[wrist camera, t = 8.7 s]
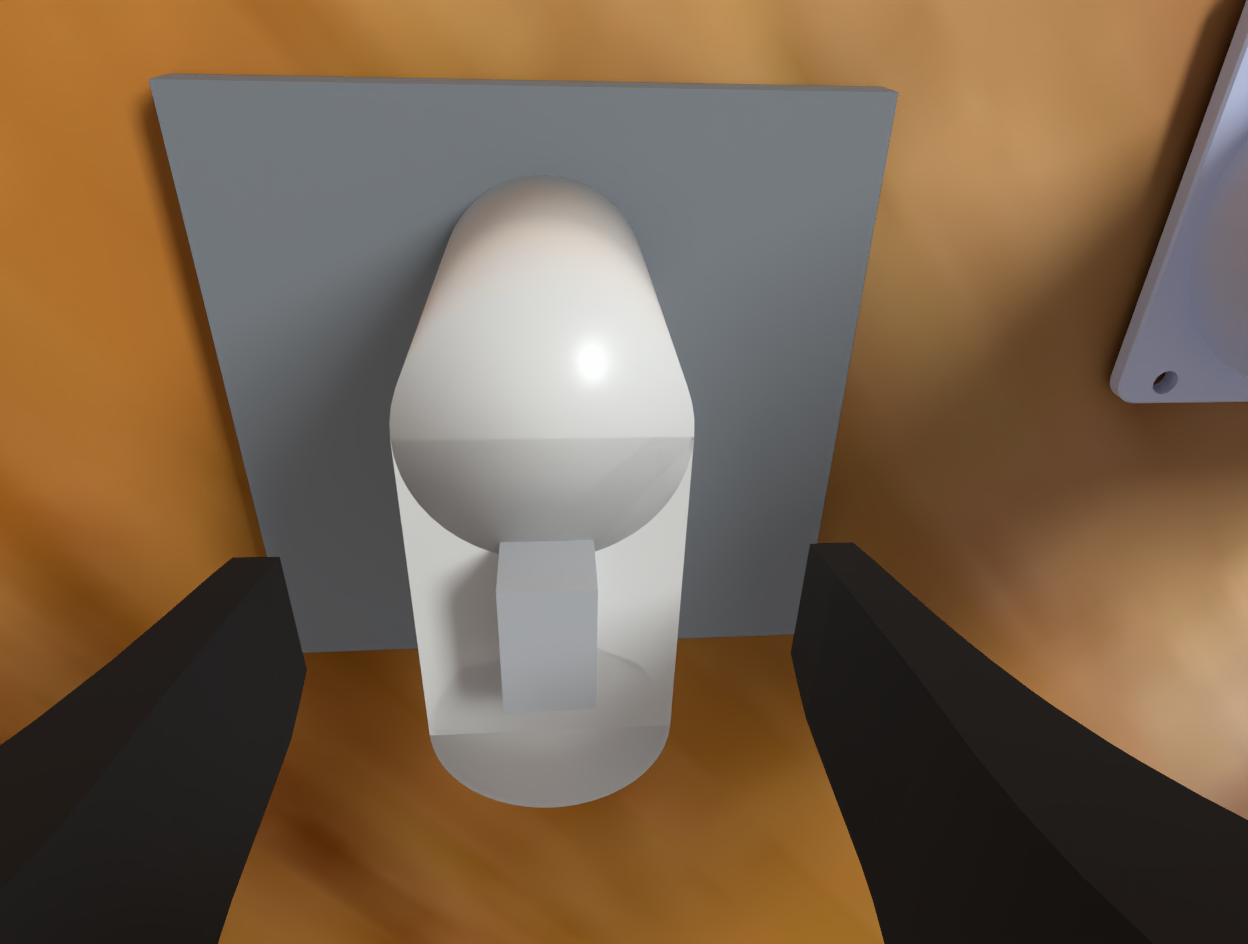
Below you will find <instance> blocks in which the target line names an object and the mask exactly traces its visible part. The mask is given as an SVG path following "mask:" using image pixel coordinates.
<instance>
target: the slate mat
mask: <svg viewBox="0 0 1248 944" xmlns="http://www.w3.org/2000/svg"><path fill="white" fill-rule="evenodd" d="M149 83H150V87H151V91H152V95H153V99H154V103H155V107H156V111H157V115H158V119H159V123H160V127H161V131H162V135H163V140H164V144H165V148H166V152H167V156H168V160H169V164H170V168H171V172H172V176H173V180H174V184H175V188H176V192H177V196H178V200H179V204H180V208H181V212H182V216H183V220H184V224H185V228H186V232H187V236H188V240H189V244H190V248H191V252H192V256H193V260H194V265H195V269H196V273H197V277H198V281H199V285H200V289H201V293H202V297H203V301H204V305H205V309H206V313H207V317H208V321H209V325H210V329H211V333H212V337H213V341H214V345H215V349H216V353H217V357H218V361H219V365H220V369H221V373H222V377H223V381H224V386H225V390H226V394H227V398H228V402H229V406H230V410H231V414H232V418H233V422H234V426H235V430H236V434H237V438H238V442H239V446H240V450H241V454H242V458H243V462H244V466H245V470H246V474H247V478H248V482H249V486H250V490H251V494H252V498H253V502H254V507H255V511H256V515H257V519H258V523H259V527H260V531H261V535H262V539H263V543H264V547H265V551H266V555H267V557H280V560H281V564H282V568H283V573H284V577H285V581H286V585H287V589H288V594H289V598H290V602H291V606H292V610H293V615H294V619H295V623H296V627H297V631H298V635H299V640H300V644H301V648H302V652H303V653H311V652H338V651H365V650H391V649H418V644H417V636H416V629H415V621H414V614H413V606H412V599H411V591H410V584H409V576H408V569H407V561H406V554H405V547H404V539H403V532H402V524H401V517H400V509H399V502H398V494H397V487H396V479H395V472H394V464H393V457H392V449H391V442H390V426H389V421H390V411H391V403H392V399H393V395H394V391H395V387H396V385H397V382H398V379H399V376H400V374H401V371H402V368H403V365H404V362H405V360H406V357H407V354H408V351H409V349H410V346H411V343H412V340H413V338H414V335H415V332H416V329H417V326H418V324H419V321H420V318H421V315H422V313H423V310H424V307H425V304H426V302H427V299H428V296H429V293H430V291H431V288H432V285H433V282H434V279H435V277H436V274H437V271H438V268H439V266H440V263H441V260H442V257H443V255H444V252H445V249H446V246H447V243H448V241H449V238H450V236H451V233H452V231H453V229H454V227H455V225H456V223H457V222H458V220H459V218H460V217H461V215H462V214H463V213H464V212H465V210H466V209H467V208H468V207H469V206H470V205H471V204H472V203H473V202H474V201H475V200H476V199H477V198H478V197H480V196H481V195H482V194H484V193H485V192H487V191H488V190H490V189H491V188H493V187H495V186H497V185H499V184H501V183H504V182H507V181H509V180H512V179H515V178H520V177H526V176H535V175H548V176H558V177H563V178H567V179H571V180H574V181H577V182H579V183H582V184H584V185H586V186H588V187H590V188H592V189H594V190H596V191H597V192H599V193H600V194H601V195H603V196H604V197H606V198H607V199H608V200H609V201H610V202H611V203H612V204H614V205H615V206H616V207H617V208H618V210H619V211H620V212H621V213H622V214H623V216H624V217H625V218H626V220H627V221H628V223H629V225H630V226H631V228H632V229H633V232H634V234H635V236H636V238H637V240H638V243H639V246H640V249H641V252H642V255H643V258H644V261H645V264H646V267H647V269H648V272H649V275H650V278H651V281H652V284H653V287H654V290H655V293H656V296H657V299H658V302H659V305H660V307H661V310H662V313H663V316H664V319H665V322H666V325H667V328H668V331H669V334H670V337H671V340H672V343H673V345H674V348H675V351H676V354H677V357H678V360H679V363H680V366H681V369H682V372H683V375H684V378H685V381H686V383H687V387H688V390H689V393H690V397H691V400H692V405H693V413H694V446H693V458H692V470H691V482H690V494H689V506H688V518H687V530H686V542H685V554H684V566H683V577H682V589H681V601H680V613H679V625H678V637H677V639H684V638H710V637H737V636H764V635H790V634H794V632H795V627H796V621H797V615H798V609H799V604H800V598H801V592H802V587H803V581H804V575H805V570H806V564H807V558H808V552H809V547H810V544H817V541H818V536H819V530H820V525H821V519H822V514H823V508H824V502H825V497H826V491H827V486H828V480H829V475H830V469H831V464H832V458H833V453H834V447H835V441H836V436H837V430H838V425H839V419H840V414H841V408H842V403H843V397H844V391H845V386H846V380H847V375H848V369H849V364H850V358H851V353H852V347H853V342H854V336H855V330H856V325H857V319H858V314H859V308H860V303H861V297H862V292H863V286H864V280H865V275H866V269H867V264H868V258H869V253H870V247H871V242H872V236H873V230H874V225H875V219H876V214H877V208H878V203H879V197H880V192H881V186H882V181H883V175H884V169H885V164H886V158H887V153H888V147H889V142H890V136H891V131H892V125H893V119H894V114H895V108H896V103H897V97H898V92H896V91H893V90H890V89H887V88H884V87H867V86H812V85H758V84H703V83H649V82H594V81H540V80H485V79H431V78H376V77H322V76H267V75H213V74H166V75H162V76H158V77H155V78H151V79H149Z"/></svg>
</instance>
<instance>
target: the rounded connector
mask: <svg viewBox="0 0 1248 944" xmlns="http://www.w3.org/2000/svg"><path fill="white" fill-rule="evenodd" d="M389 426H390V442H391V449H392V457H393V464H394V472H395V479H396V487H397V494H398V502H399V509H400V517H401V524H402V532H403V539H404V547H405V554H406V561H407V569H408V576H409V584H410V591H411V599H412V606H413V614H414V621H415V629H416V636H417V644H418V651H419V659H420V666H421V674H422V681H423V689H424V696H425V704H426V711H427V718H428V726H429V733H430V739H431V743H432V747H433V749H434V751H435V754H436V756H437V758H438V759H439V761H440V762H441V764H442V765H443V767H444V768H445V769H446V770H447V771H448V772H449V773H450V774H451V775H452V776H453V777H454V778H455V779H456V780H458V781H459V782H460V783H461V784H463V785H464V786H466V787H468V788H469V789H471V790H472V791H474V792H477V793H479V794H481V795H483V796H485V797H488V798H491V799H493V800H496V801H500V802H504V803H507V804H512V805H518V806H524V807H537V808H552V807H564V806H571V805H577V804H582V803H586V802H590V801H593V800H597V799H600V798H602V797H605V796H608V795H610V794H612V793H614V792H616V791H618V790H620V789H622V788H624V787H626V786H627V785H629V784H630V783H632V782H634V781H635V780H636V779H637V778H639V777H640V776H641V775H643V774H644V773H645V772H646V771H647V770H648V769H649V768H650V767H651V766H652V764H653V763H654V762H655V761H656V759H657V758H658V757H659V755H660V753H661V752H662V750H663V748H664V746H665V743H666V741H667V738H668V735H669V729H670V721H671V709H672V697H673V685H674V673H675V661H676V649H677V637H678V625H679V613H680V601H681V589H682V577H683V566H684V554H685V542H686V530H687V518H688V506H689V494H690V482H691V470H692V458H693V446H694V413H693V405H692V400H691V397H690V393H689V390H688V387H687V383H686V381H685V378H684V375H683V372H682V369H681V366H680V363H679V360H678V357H677V354H676V351H675V348H674V345H673V343H672V340H671V337H670V334H669V331H668V328H667V325H666V322H665V319H664V316H663V313H662V310H661V307H660V305H659V302H658V299H657V296H656V293H655V290H654V287H653V284H652V281H651V278H650V275H649V272H648V269H647V267H646V264H645V261H644V258H643V255H642V252H641V249H640V246H639V243H638V240H637V238H636V236H635V234H634V232H633V229H632V228H631V226H630V225H629V223H628V221H627V220H626V218H625V217H624V216H623V214H622V213H621V212H620V211H619V210H618V208H617V207H616V206H615V205H614V204H612V203H611V202H610V201H609V200H608V199H607V198H606V197H604V196H603V195H601V194H600V193H599V192H597V191H596V190H594V189H592V188H590V187H588V186H586V185H584V184H582V183H579V182H577V181H574V180H571V179H567V178H563V177H558V176H548V175H535V176H526V177H520V178H515V179H512V180H509V181H507V182H504V183H501V184H499V185H497V186H495V187H493V188H491V189H490V190H488V191H487V192H485V193H484V194H482V195H481V196H480V197H478V198H477V199H476V200H475V201H474V202H473V203H472V204H471V205H470V206H469V207H468V208H467V209H466V210H465V212H464V213H463V214H462V215H461V217H460V218H459V220H458V222H457V223H456V225H455V227H454V229H453V231H452V233H451V236H450V238H449V241H448V243H447V246H446V249H445V252H444V255H443V257H442V260H441V263H440V266H439V268H438V271H437V274H436V277H435V279H434V282H433V285H432V288H431V291H430V293H429V296H428V299H427V302H426V304H425V307H424V310H423V313H422V315H421V318H420V321H419V324H418V326H417V329H416V332H415V335H414V338H413V340H412V343H411V346H410V349H409V351H408V354H407V357H406V360H405V362H404V365H403V368H402V371H401V374H400V376H399V379H398V382H397V385H396V387H395V391H394V395H393V399H392V403H391V411H390V421H389Z"/></svg>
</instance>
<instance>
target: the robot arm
mask: <svg viewBox="0 0 1248 944" xmlns="http://www.w3.org/2000/svg"><path fill="white" fill-rule="evenodd" d="M1164 372H1166V374H1165V376H1164V378H1163V379H1162V380H1161V381H1160V382H1159V383H1157V384H1156V385H1153V383H1154V381H1155V380H1156V378H1157V377H1158V376H1159V375H1161V374H1162V373H1164ZM1110 387H1111V390H1112V392H1113V393H1115V394H1116V395H1117V396H1118V397H1120V398H1121V399H1123V400H1124V401H1125V402H1129V403H1185V402H1248V0H1246V3H1245V6H1244V8H1243V11H1242V14H1241V17H1240V19H1239V22H1238V25H1237V28H1236V31H1235V33H1234V36H1233V39H1232V42H1231V44H1230V47H1229V50H1228V53H1227V55H1226V58H1225V61H1224V64H1223V67H1222V69H1221V72H1220V75H1219V78H1218V80H1217V83H1216V86H1215V89H1214V92H1213V94H1212V97H1211V100H1210V103H1209V105H1208V108H1207V111H1206V114H1205V116H1204V119H1203V122H1202V125H1201V128H1200V130H1199V133H1198V136H1197V139H1196V141H1195V144H1194V147H1193V150H1192V153H1191V155H1190V158H1189V161H1188V164H1187V166H1186V169H1185V172H1184V175H1183V177H1182V180H1181V183H1180V186H1179V189H1178V191H1177V194H1176V197H1175V200H1174V202H1173V205H1172V208H1171V211H1170V214H1169V216H1168V219H1167V222H1166V225H1165V227H1164V230H1163V233H1162V236H1161V238H1160V241H1159V244H1158V247H1157V250H1156V252H1155V255H1154V258H1153V261H1152V263H1151V266H1150V269H1149V272H1148V275H1147V277H1146V280H1145V283H1144V286H1143V288H1142V291H1141V294H1140V297H1139V299H1138V302H1137V305H1136V308H1135V311H1134V313H1133V316H1132V319H1131V322H1130V324H1129V327H1128V330H1127V333H1126V336H1125V338H1124V341H1123V344H1122V347H1121V349H1120V352H1119V355H1118V358H1117V360H1116V363H1115V366H1114V369H1113V372H1112V374H1111V378H1110ZM791 656H792V660H793V665H794V669H795V674H796V678H797V683H798V687H799V691H800V695H801V699H802V703H803V707H804V712H805V716H806V719H807V722H808V725H809V727H810V730H811V733H812V736H813V738H814V741H815V744H816V747H817V749H818V752H819V755H820V757H821V760H822V763H823V765H824V768H825V771H826V773H827V776H828V779H829V781H830V784H831V787H832V789H833V792H834V795H835V797H836V800H837V802H838V805H839V808H840V810H841V813H842V816H843V818H844V821H845V824H846V826H847V829H848V831H849V834H850V837H851V839H852V842H853V845H854V847H855V850H856V853H857V855H858V858H859V861H860V863H861V866H862V869H863V872H864V875H865V878H866V881H867V884H868V887H869V890H870V893H871V896H872V899H873V903H874V906H875V910H876V914H877V917H878V921H879V925H880V928H881V932H882V936H883V939H884V943H885V944H1248V820H1246V819H1244V818H1243V817H1241V816H1239V815H1237V814H1235V813H1233V812H1231V811H1229V810H1227V809H1225V808H1223V807H1222V806H1220V805H1218V804H1216V803H1214V802H1212V801H1210V800H1208V799H1206V798H1204V797H1202V796H1201V795H1199V794H1197V793H1195V792H1193V791H1192V790H1190V789H1188V788H1186V787H1184V786H1183V785H1181V784H1179V783H1177V782H1176V781H1174V780H1172V779H1170V778H1169V777H1167V776H1165V775H1163V774H1162V773H1160V772H1158V771H1156V770H1155V769H1153V768H1151V767H1149V766H1147V765H1146V764H1144V763H1142V762H1140V761H1139V760H1137V759H1135V758H1134V757H1132V756H1130V755H1129V754H1127V753H1125V752H1124V751H1122V750H1120V749H1119V748H1117V747H1116V746H1114V745H1112V744H1111V743H1109V742H1107V741H1106V740H1104V739H1103V738H1101V737H1100V736H1098V735H1097V734H1095V733H1094V732H1092V731H1090V730H1089V729H1087V728H1086V727H1084V726H1083V725H1081V724H1080V723H1078V722H1077V721H1075V720H1074V719H1072V718H1071V717H1069V716H1068V715H1066V714H1065V713H1063V712H1062V711H1060V710H1058V709H1057V708H1055V707H1054V706H1053V705H1051V704H1050V703H1048V702H1047V701H1045V700H1044V699H1043V698H1041V697H1040V696H1038V695H1037V694H1035V693H1034V692H1033V691H1031V690H1030V689H1029V688H1027V687H1026V686H1025V685H1023V684H1022V683H1021V682H1019V681H1018V680H1017V679H1015V678H1014V677H1013V676H1011V675H1010V674H1009V673H1007V672H1006V671H1005V670H1003V669H1002V668H1001V667H999V666H998V665H997V664H995V663H994V662H993V661H991V660H990V659H989V658H988V657H986V656H985V655H984V654H983V653H981V652H980V651H979V650H978V649H976V648H975V647H974V646H973V645H971V644H970V643H969V642H968V641H966V640H965V639H964V638H963V637H961V636H960V635H959V634H958V633H957V632H955V631H954V630H953V629H952V628H951V627H949V626H948V625H947V624H946V623H945V622H943V621H942V620H941V619H940V618H939V617H938V616H936V615H935V614H934V613H933V612H932V611H931V610H929V609H928V608H927V607H926V606H925V605H924V604H923V603H921V602H920V601H919V600H918V599H917V598H916V597H915V596H913V595H912V594H911V593H910V592H909V591H908V590H907V589H905V588H904V587H903V586H902V585H901V584H900V583H899V582H898V581H896V580H895V579H894V578H893V577H892V576H891V575H890V574H889V573H887V572H886V571H885V570H884V569H883V568H882V567H881V566H880V565H878V564H877V563H876V562H875V561H874V560H873V559H872V558H870V557H869V556H868V555H867V554H866V553H865V552H863V551H862V550H861V549H860V548H859V547H857V546H856V545H855V544H854V543H818V544H810V547H809V552H808V558H807V564H806V570H805V575H804V581H803V587H802V592H801V598H800V604H799V609H798V615H797V621H796V627H795V632H794V638H793V644H792V649H791ZM306 670H307V669H306V665H305V661H304V656H303V652H302V648H301V644H300V640H299V635H298V631H297V627H296V623H295V619H294V615H293V610H292V606H291V602H290V598H289V594H288V589H287V585H286V581H285V577H284V573H283V568H282V564H281V560H280V557H245V558H232V559H231V560H229V561H228V562H227V563H225V564H224V565H223V566H222V567H220V568H219V569H218V570H217V571H216V572H215V573H213V574H212V575H211V576H210V577H209V578H207V579H206V580H205V581H204V582H203V583H202V584H201V585H199V586H198V587H197V588H196V589H195V590H194V591H192V592H191V593H190V594H189V595H188V596H187V597H186V598H184V599H183V600H182V601H181V602H180V603H179V604H178V605H176V606H175V607H174V608H173V609H172V610H171V611H170V612H168V613H167V614H166V615H165V616H164V617H163V618H161V619H160V620H159V621H158V622H157V623H156V624H154V625H153V626H152V627H151V628H150V629H148V630H147V631H146V632H145V633H144V634H143V635H141V636H140V637H139V638H138V639H137V640H135V641H134V642H133V643H132V644H131V645H130V646H128V647H127V648H126V649H125V650H124V651H122V652H121V653H120V654H119V655H118V656H117V657H115V658H114V659H113V660H112V661H111V662H109V663H108V664H107V665H106V666H104V667H103V668H102V669H100V670H99V671H98V672H97V673H95V674H94V675H93V676H91V677H90V678H89V679H88V680H86V681H85V682H84V683H82V684H81V685H80V686H79V687H77V688H76V689H75V690H73V691H72V692H71V693H70V694H68V695H67V696H66V697H64V698H63V699H62V700H61V701H59V702H58V703H57V704H56V705H54V706H53V707H52V708H50V709H49V710H48V711H47V712H45V713H44V714H43V715H41V716H40V717H39V718H38V719H36V720H35V721H33V722H32V723H31V724H29V725H28V726H27V727H25V728H24V729H23V730H21V731H20V732H18V733H17V734H16V735H14V736H13V737H11V738H10V739H9V740H7V741H6V742H4V743H3V744H1V745H0V944H218V942H219V938H220V935H221V932H222V929H223V926H224V923H225V920H226V916H227V913H228V910H229V907H230V904H231V901H232V898H233V896H234V893H235V890H236V888H237V885H238V882H239V879H240V877H241V874H242V871H243V869H244V866H245V863H246V861H247V858H248V855H249V853H250V850H251V847H252V845H253V842H254V839H255V837H256V834H257V831H258V828H259V826H260V823H261V820H262V818H263V815H264V812H265V810H266V807H267V804H268V802H269V799H270V796H271V794H272V791H273V788H274V785H275V783H276V780H277V777H278V774H279V772H280V769H281V766H282V763H283V761H284V758H285V755H286V752H287V749H288V746H289V744H290V741H291V738H292V733H293V729H294V725H295V721H296V717H297V712H298V708H299V704H300V699H301V694H302V689H303V685H304V680H305V675H306Z"/></svg>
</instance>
